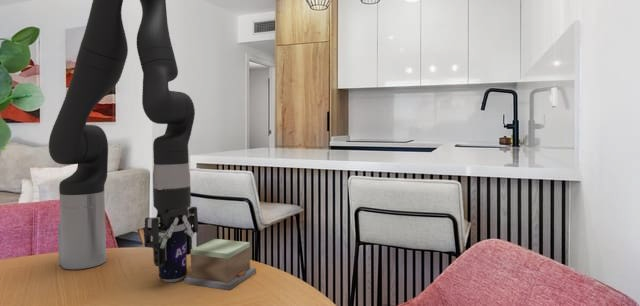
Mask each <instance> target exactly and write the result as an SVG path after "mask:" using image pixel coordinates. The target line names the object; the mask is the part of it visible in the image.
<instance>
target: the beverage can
mask: <svg viewBox="0 0 640 306" xmlns="http://www.w3.org/2000/svg"><path fill="white" fill-rule="evenodd" d="M165 232H166V231H163V230H162V229H161V230H160V233H165ZM161 239H162V238H160V239H159V242H160V241H161ZM164 248H165V258H166V265H165V266H163V267H159V266H158V277H159V278H160V279H161V280H162V281H163V282H164V283H176V282H179V281H181V280H184V278H185V276H186V275H187V274H188V265H187V262H188V259H187V256H188V255H187V247H186V227H185V226H184V224H180V225H178V226H175V228H174V230H173V232H172V235H171V237H170V238H169V239H168V240H167V242H166V244H165V247H164Z"/></svg>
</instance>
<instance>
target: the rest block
mask: <svg viewBox="0 0 640 306" xmlns="http://www.w3.org/2000/svg"><path fill="white" fill-rule="evenodd" d="M250 247H251V242H248V241H241V240H239V241H237V240H231V239H220V238H214V239H211V240H209V241H207V242H205V243H203V244H200V245H198V246H196V247H194V248H193V247H192V249H191V254H190V274H189V275H188V276H186V277H183V284H185V285H186V284H188V285H191V286H200V287H205V288H214V289H220V290H227V291H231V290H232V289H234V288H235V287H237V286H239V285H240V284H241V283H242V282H244V281H246V280H247V279H249V278H250V277H252V276H253V275H254V274H255V273H257V268H256V267H253V266H252V267H251V248H250Z"/></svg>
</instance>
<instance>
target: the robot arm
mask: <svg viewBox="0 0 640 306" xmlns="http://www.w3.org/2000/svg"><path fill="white" fill-rule="evenodd" d="M166 1H167V0H139V2H140V5H141V9H142V11H141V12H142V16H141V21H140V24H139V27H138V30H137V35H136V50H137V54H138V59H139V62H140V66H141V67H140V68H141V70H142V92H141V93H142V97H141V100H142V101H141V103H142V109H143V112H144V113H145V115H146V117H147V118H148V119H149V120H150V121H151V122H152V123H154V124H157V125H166V129H165V133H164V134H162V135H160V136H158V137H155V139H154V140H153V142H152V143H153V145H152V147H153V148H152V150H153V151H152V153H153V157H152V158H153V167H152V168H153V169H152V170H153V171H152V198H153V199H152V200H153V207H154V208H155V209H156V216H155V217H145V219H144V242H143V243H144V247H145V248H149V249H152V253H153V264H154V265H155V266H156V267H158V268H159V267H163V266H165V265H166V258H165V248H164V247H165V244H166V242H167V240H168V239H169V238H170V237H171V235H172V232H173V230H174V228H175V226H178V225H180V224H184V226H185V227H186V247H187V256H189V255H191V249H193V246H192V245H193V244H192V243H193V240H192V239H193V237H194V234H195V233H198V231H199V221H198V219H199V217H198V208H197V206H190V205H192V200H191V199H192V197H191V196H192V195H191V193H192V192H191V170H190V165H189V162H190V159H189V141H190V139H191V134H192V131H193V125H194V121H195V117H196V116H195V115H196V112H195V111H196V109H195V105H194V104H195V103H194V102H193V100H192V98H191V97H190V95H188V94H187V93H185V92H181V91H176V90H170V88H169V82H172V81H174V80H175V79H176V78H177V77H178V74H179V71H178V70H179V69H178V65H177V61H176V57H175V53H174V49H173V44H172V42H171V37H170V30H169V23H168V15H167V14H168V13H167V12H168V11H167V4H166ZM123 2H124V0H92V3H91V8H90V12H89V16H88V19H87V23H86V25H85V30H84V34H83V36H82V40H81V42H80V45H79V49H78V52H77V57H76V60H75V65H74V69H73V73H72V75H71V79H70V82H69V86H68V88H67V92H66V94H65V97H64V100H63V103H62V104H61V107H60V110H59V111H58V114H57V116H56V120H55V122H54V124H53V125H52V128H51V131H50V135H49V139H48V153H49V155H50V158H51V159H52V161H54V163H56V164H58V165H67V166H68V165H69V166H70V165H77V168H76V170H75V171H74V172H73V173H72V174H71V175H69V176H68V177H66V178H64V179H62V180H61V181H60V182H59V186H58V187H59V188H58V190H59V191H58V193H59V194H58V196H59V215H60V216H59V218H60V219H59V223H60V224H58V225H57V243H58V244H57V247H58V249H57V250H58V265H59V266H61V268H63V269H65V270H83V269H84V270H85V269H89V268H94V267H97V266H100V265H103V264H105V263H106V261H107V246H106V245H107V240H106V238H107V237H106V236H107V235H106V207H105V206H106V203H105V202H106V201H105V199H106V198H105V185H106V181H107V178H108V169H109V168H108V166H109V165H108V163H109V162H108V161H109V160H108V159H109V142H108V137H107V134H106V132H105V131H104V129H102V128H101V126H100V125H96V124H87V121H88V120H89V118H90V115H91V113H92V112H93V110H94V109H95V107H96V106H97V105H98V104H99V103H100V102H101V101H102V100H103V99H104V98H105V97H106V96H107V95H108V94H109V93H110V92H111V91H112V90H113V89H114V88H115V86H116V85H117V84H118V82H119V81H120V80H121V77H122V73H123V70H124V68H125V65H126V62H127V58H128V53H129V52H128V51H129V48H128V47H129V46H128V41H127V36H126V32H125V27H124V22H123V19H122V16H123V15H122V10H123V9H122V8H123ZM191 224H192V225H191ZM161 229H162V230H163V231H166V232H165V233H160V230H161ZM160 238H162V239H161V241H160V242H159V239H160ZM151 240H152V241H151Z"/></svg>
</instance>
